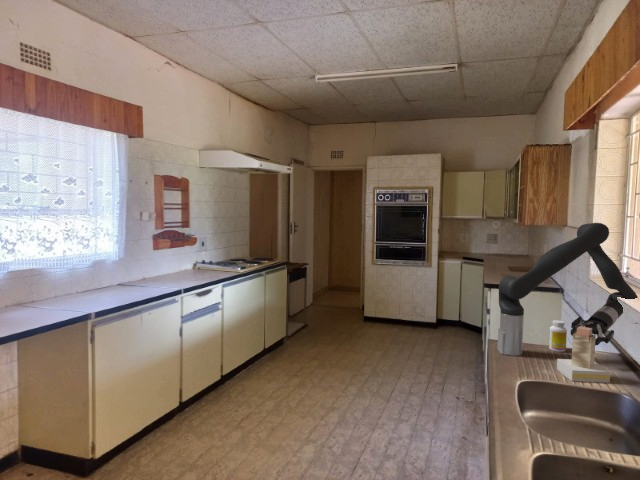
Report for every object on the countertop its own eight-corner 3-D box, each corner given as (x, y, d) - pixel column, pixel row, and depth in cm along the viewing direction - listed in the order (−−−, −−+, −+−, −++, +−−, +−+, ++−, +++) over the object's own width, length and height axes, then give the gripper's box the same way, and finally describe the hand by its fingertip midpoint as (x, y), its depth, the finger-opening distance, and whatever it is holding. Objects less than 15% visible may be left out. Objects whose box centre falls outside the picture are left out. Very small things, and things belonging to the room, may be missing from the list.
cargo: (576, 338, 161) (576, 328, 161) (579, 336, 164) (580, 326, 163) (588, 341, 158) (589, 330, 158) (591, 338, 161) (592, 328, 160)
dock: (571, 381, 156) (572, 370, 156) (556, 368, 168) (557, 358, 168) (609, 382, 155) (610, 372, 155) (591, 370, 167) (592, 360, 167)
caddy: (571, 364, 161) (572, 334, 161) (576, 361, 166) (577, 331, 165) (589, 369, 157) (591, 338, 156) (594, 365, 161) (595, 335, 161)
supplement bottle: (569, 352, 188) (570, 323, 187) (553, 352, 188) (554, 323, 187) (560, 347, 194) (562, 319, 193) (545, 347, 194) (547, 319, 194)
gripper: (586, 304, 183) (565, 323, 176) (623, 319, 172) (602, 340, 165) (585, 318, 187) (564, 337, 180) (621, 333, 176) (600, 354, 169)
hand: (582, 338), depth 172 cm, fingers open, 8 cm apart
